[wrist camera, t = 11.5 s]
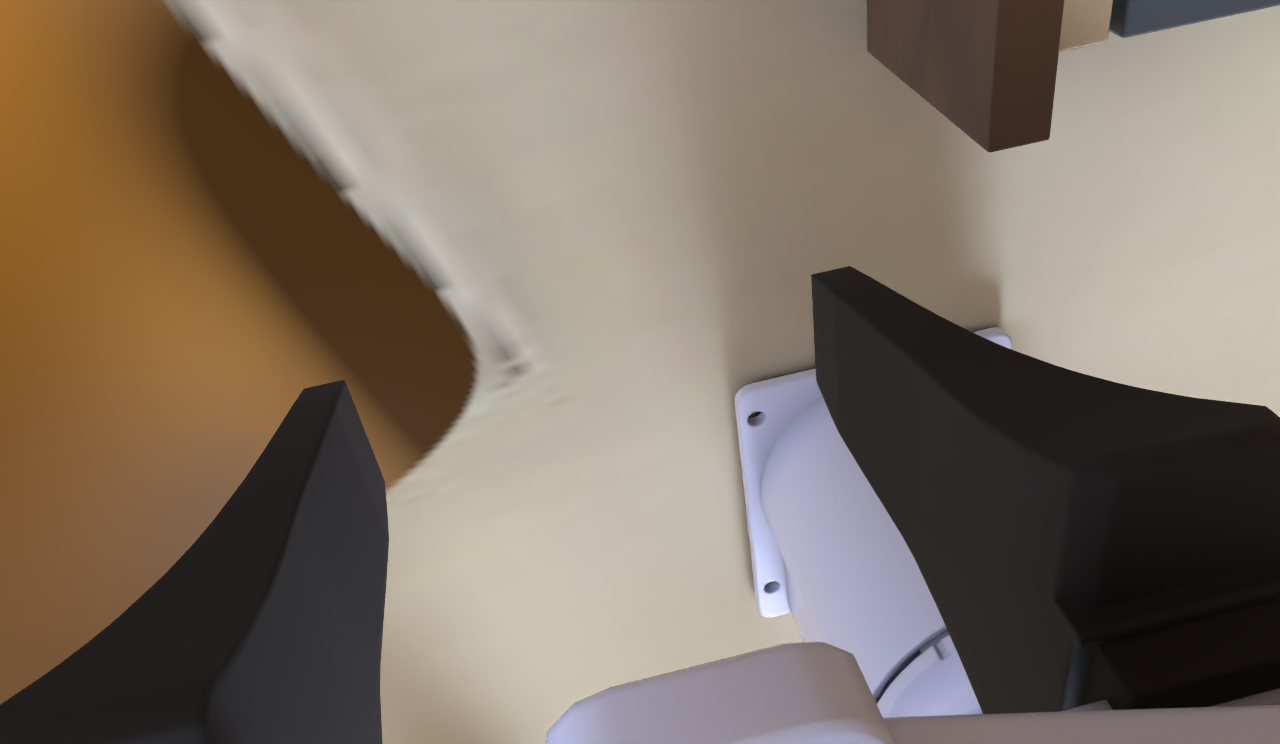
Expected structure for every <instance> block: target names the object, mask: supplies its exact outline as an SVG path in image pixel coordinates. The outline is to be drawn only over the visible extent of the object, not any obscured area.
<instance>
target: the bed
mask: <svg viewBox="0 0 1280 744" xmlns="http://www.w3.org/2000/svg"><path fill="white" fill-rule="evenodd" d="M1278 5H1280V0H867V25H868V52H869V53H870V54H871V55H872V56H874V57H875V58H876V59H877V60H878V61H880V62H881V63H882V64H883V65H884V66H886V67H887V68H888V69H889V70H890V71H892V72H893V73H894V74H895V75H896V76H898V77H899V78H900V79H901V80H902V81H904V82H905V83H906V84H907V85H908V86H910V87H911V88H912V89H913V90H914V91H916V92H917V93H918V94H919V95H920V96H921V97H923V98H924V99H925V100H926V101H927V102H929V103H930V104H931V105H932V106H933V107H935V108H936V109H937V110H938V111H939V112H941V113H942V114H943V115H944V116H945V117H947V118H948V119H949V120H950V121H951V122H953V123H954V124H955V125H956V126H957V127H959V128H960V129H961V130H962V131H963V132H965V133H966V134H967V135H968V136H969V137H971V138H972V139H973V140H974V141H975V142H977V143H978V144H979V145H980V146H981V147H983V148H984V149H985V150H986V151H987V152H994V151H999V150H1003V149H1008V148H1012V147H1017V146H1022V145H1026V144H1031V143H1035V142H1040V141H1044V140H1048V139H1049V137H1050V128H1051V119H1052V110H1053V100H1054V91H1055V82H1056V73H1057V63H1058V54H1059V52H1061V51H1065V50H1070V49H1075V48H1080V47H1084V46H1089V45H1094V44H1098V43H1103V42H1106V41H1107V39H1108V33H1109V31H1111V32H1112V33H1114V34H1116V35H1118V36H1120V37H1123V38H1127V37H1132V36H1136V35H1141V34H1146V33H1150V32H1155V31H1160V30H1165V29H1169V28H1174V27H1179V26H1183V25H1188V24H1193V23H1198V22H1202V21H1207V20H1212V19H1216V18H1221V17H1226V16H1231V15H1235V14H1240V13H1245V12H1249V11H1254V10H1259V9H1264V8H1268V7H1273V6H1278Z"/></svg>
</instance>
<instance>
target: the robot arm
mask: <svg viewBox="0 0 1280 744" xmlns="http://www.w3.org/2000/svg"><path fill="white" fill-rule="evenodd" d="M811 277H812V299H813V321H814V344H815V366H816V368H815V369H811V370H806V371H802V372H798V373H794V374H789V375H785V376H781V377H776V378H772V379H768V380H763V381H759V382H755V383H750V384H748V385H745V386H743V387H742V388H741V389H740V390H739V391H738V392H737V394H736V396H735V401H734V402H735V411H736V421H737V430H738V439H739V449H740V458H741V467H742V477H743V486H744V495H745V505H746V514H747V523H748V533H749V542H750V551H751V561H752V570H753V579H754V589H755V598H756V605H757V607H758V610H759V612H760V614H761V615H763V616H765V617H776V616H780V615H784V614H788V613H792V615H793V618H794V620H795V622H796V625H797V627H798V630H799V632H800V635H801V637H802V640H803V642H804V643H790V644H781V645H777V646H773V647H769V648H765V649H761V650H757V651H753V652H749V653H745V654H741V655H737V656H733V657H729V658H725V659H721V660H717V661H713V662H709V663H705V664H701V665H697V666H693V667H689V668H685V669H681V670H677V671H673V672H669V673H665V674H661V675H658V676H654V677H650V678H646V679H642V680H638V681H634V682H630V683H626V684H622V685H618V686H614V687H610V688H608V689H605V690H603V691H601V692H598V693H596V694H594V695H592V696H589V697H587V698H585V699H582V700H580V701H578V702H576V703H574V704H573V705H572V706H571V707H570V708H569V709H568V710H567V711H566V712H565V713H564V714H563V715H562V716H561V718H560V719H559V720H558V721H557V722H556V723H555V724H554V725H553V726H552V727H551V728H550V729H549V730H548V731H547V740H546V744H1280V417H1278V416H1277V415H1276V414H1275V413H1274V412H1272V411H1271V410H1270V409H1268V408H1267V407H1266V406H1259V405H1250V404H1242V403H1233V402H1225V401H1216V400H1207V399H1199V398H1191V397H1185V396H1179V395H1174V394H1169V393H1163V392H1158V391H1152V390H1147V389H1142V388H1137V387H1133V386H1128V385H1124V384H1119V383H1115V382H1111V381H1108V380H1104V379H1100V378H1096V377H1093V376H1089V375H1085V374H1082V373H1078V372H1074V371H1071V370H1068V369H1065V368H1062V367H1058V366H1055V365H1052V364H1049V363H1047V362H1044V361H1041V360H1038V359H1036V358H1033V357H1030V356H1027V355H1024V354H1022V353H1019V352H1016V351H1014V350H1011V349H1012V341H1011V338H1010V337H1009V336H1008V334H1007V333H1006V332H1005V331H1004V330H1003V329H1001V328H998V327H994V328H988V329H983V330H979V331H975V332H970V331H968V330H966V329H964V328H962V327H960V326H958V325H956V324H954V323H952V322H950V321H948V320H946V319H944V318H942V317H940V316H938V315H936V314H935V313H933V312H931V311H929V310H927V309H925V308H923V307H922V306H920V305H918V304H916V303H914V302H913V301H911V300H909V299H907V298H906V297H904V296H902V295H900V294H899V293H897V292H895V291H893V290H892V289H890V288H888V287H886V286H885V285H883V284H881V283H879V282H878V281H876V280H874V279H872V278H871V277H869V276H867V275H865V274H864V273H862V272H860V271H858V270H856V269H854V268H852V267H850V266H848V267H844V268H839V269H835V270H831V271H826V272H822V273H817V274H813V275H811ZM756 411H761V413H760V414H759V415H758V416H756V417H754V418H748V417H749V416H750V415H751V414H752V413H754V412H756ZM388 545H389V532H388V516H387V503H386V492H385V481H384V478H383V476H382V473H381V471H380V468H379V466H378V463H377V461H376V458H375V456H374V453H373V450H372V448H371V446H370V443H369V441H368V438H367V435H366V433H365V430H364V428H363V425H362V423H361V420H360V418H359V415H358V412H357V410H356V407H355V405H354V402H353V400H352V397H351V395H350V392H349V390H348V387H347V384H346V382H345V380H342V381H337V382H332V383H328V384H323V385H319V386H315V387H310V388H306V389H303V391H302V393H301V394H300V395H299V397H298V399H297V400H296V401H295V403H294V404H293V406H292V407H291V409H290V411H289V412H288V414H287V416H286V417H285V418H284V420H283V422H282V423H281V425H280V426H279V428H278V429H277V431H276V433H275V434H274V436H273V437H272V439H271V441H270V442H269V443H268V445H267V447H266V448H265V450H264V451H263V453H262V454H261V456H260V457H259V459H258V460H257V462H256V463H255V464H254V466H253V467H252V469H251V470H250V472H249V473H248V475H247V476H246V478H245V479H244V481H243V482H242V483H241V485H240V486H239V487H238V489H237V490H236V491H235V493H234V494H233V495H232V497H231V498H230V500H229V501H228V502H227V503H226V504H225V506H224V507H223V508H222V510H221V511H220V512H219V514H218V515H217V517H216V518H215V519H214V520H213V522H212V523H211V524H210V525H209V526H208V528H207V529H206V530H205V531H204V532H203V533H202V535H201V536H200V537H199V538H198V539H197V540H196V542H195V543H194V544H193V545H192V546H191V547H190V548H189V549H188V550H187V551H186V552H185V554H184V555H183V556H182V557H181V558H180V559H179V560H178V561H177V562H176V563H175V564H174V565H173V566H172V567H171V568H170V569H169V571H168V572H167V573H166V574H165V575H164V576H163V577H162V578H161V579H159V580H158V581H157V582H156V583H155V584H154V585H153V586H152V587H151V588H150V589H149V590H148V591H146V592H145V593H144V594H143V595H142V596H141V597H140V598H139V599H138V600H137V601H136V602H135V603H133V604H132V605H131V606H130V607H129V608H128V609H127V610H126V611H125V612H124V613H123V614H122V615H120V617H119V618H117V619H116V620H115V621H114V622H112V623H111V624H110V625H109V626H108V627H106V628H105V629H104V630H103V631H101V632H100V633H99V634H98V635H97V636H95V637H94V638H93V639H92V640H90V641H89V642H88V643H87V644H85V645H84V646H83V647H81V648H80V649H79V650H78V651H76V652H75V653H74V654H72V655H71V656H70V657H68V658H67V659H66V660H64V661H63V662H62V663H61V664H59V665H58V666H56V667H55V668H54V669H52V670H51V671H49V672H48V673H47V674H45V675H44V676H42V677H41V678H39V679H38V680H36V681H35V682H33V683H32V684H31V685H29V686H28V687H26V688H25V689H23V690H21V691H20V692H19V693H17V694H15V695H14V696H13V697H11V698H10V699H8V700H7V701H5V702H4V703H2V704H1V705H0V744H382V726H381V704H380V662H381V648H382V634H383V620H384V606H385V592H386V578H387V562H388ZM772 581H773V582H772ZM769 582H772V583H769ZM767 583H769V584H767Z"/></svg>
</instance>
